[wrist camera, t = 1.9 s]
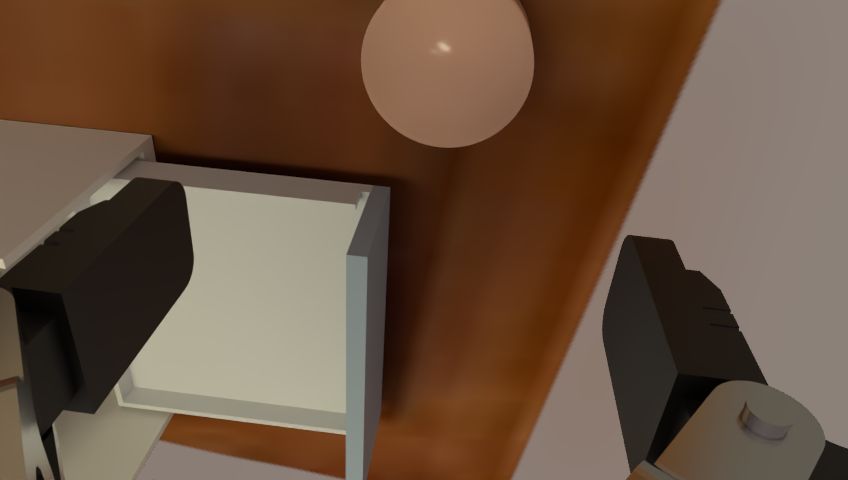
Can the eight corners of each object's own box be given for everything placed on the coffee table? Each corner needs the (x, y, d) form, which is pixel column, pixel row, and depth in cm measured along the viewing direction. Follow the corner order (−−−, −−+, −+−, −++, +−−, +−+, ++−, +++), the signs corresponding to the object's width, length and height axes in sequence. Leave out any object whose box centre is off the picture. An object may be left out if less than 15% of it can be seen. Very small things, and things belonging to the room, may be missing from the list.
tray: (82, 154, 29) (-1, 215, 24) (390, 187, 28) (367, 257, 24) (135, 380, 37) (79, 462, 32) (381, 411, 36) (362, 500, 31)
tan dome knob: (375, -45, 21) (361, -33, 19) (543, -31, 21) (547, -17, 19) (371, 114, 24) (359, 139, 22) (519, 129, 24) (520, 155, 22)
